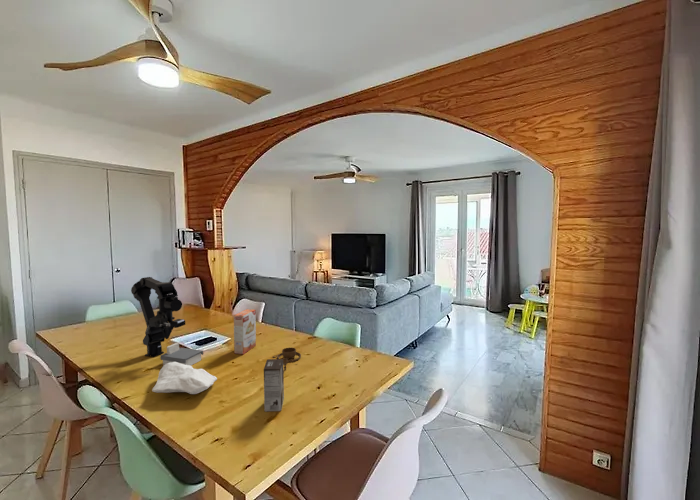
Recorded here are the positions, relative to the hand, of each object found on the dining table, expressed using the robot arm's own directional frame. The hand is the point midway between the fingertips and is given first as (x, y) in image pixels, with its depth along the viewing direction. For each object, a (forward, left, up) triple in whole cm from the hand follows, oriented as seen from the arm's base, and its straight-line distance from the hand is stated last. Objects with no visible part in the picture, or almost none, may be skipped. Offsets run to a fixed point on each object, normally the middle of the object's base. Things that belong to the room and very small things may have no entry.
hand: (166, 338), depth 170 cm
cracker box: (+29, +24, -11) cm, 39 cm away
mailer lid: (+9, 0, -8) cm, 12 cm away
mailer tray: (+9, 0, -11) cm, 14 cm away
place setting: (+57, +17, -12) cm, 60 cm away
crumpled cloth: (+30, -22, -11) cm, 39 cm away
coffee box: (+73, -22, -11) cm, 77 cm away
